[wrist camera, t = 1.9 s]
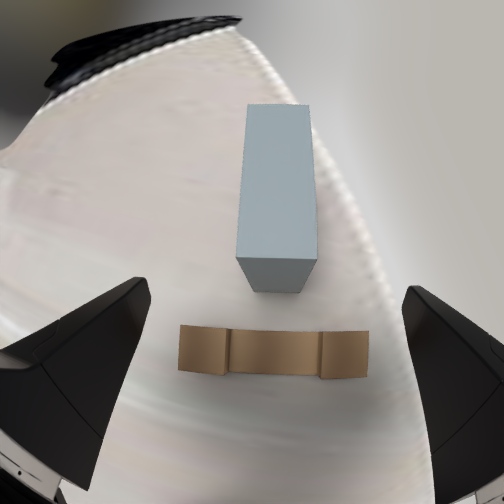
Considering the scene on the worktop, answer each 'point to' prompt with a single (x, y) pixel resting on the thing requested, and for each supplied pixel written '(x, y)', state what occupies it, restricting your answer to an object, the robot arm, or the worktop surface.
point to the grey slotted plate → (277, 199)
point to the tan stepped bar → (273, 352)
